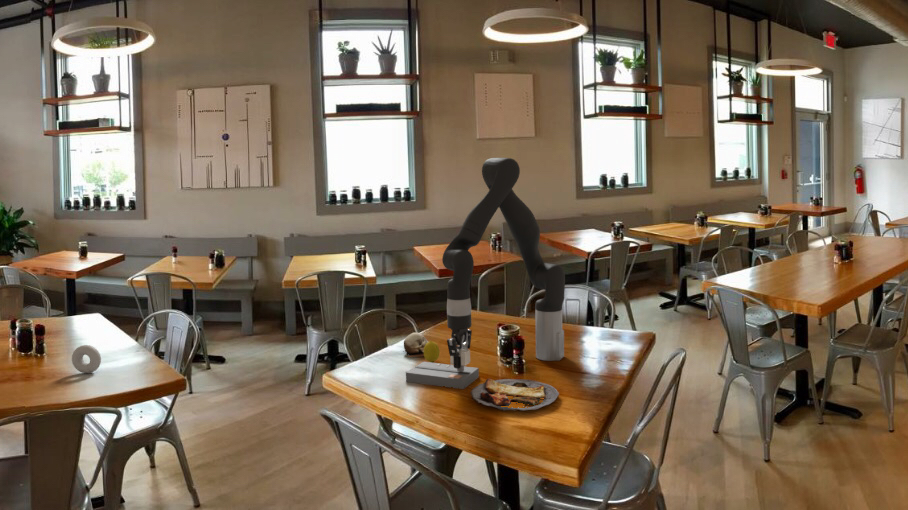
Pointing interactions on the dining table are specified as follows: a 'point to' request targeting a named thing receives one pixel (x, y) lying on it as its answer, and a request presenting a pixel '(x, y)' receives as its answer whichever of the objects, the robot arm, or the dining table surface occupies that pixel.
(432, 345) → the lemon
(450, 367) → the slider console
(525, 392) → the food plate
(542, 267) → the robot arm
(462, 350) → the fader knob
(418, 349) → the skull
